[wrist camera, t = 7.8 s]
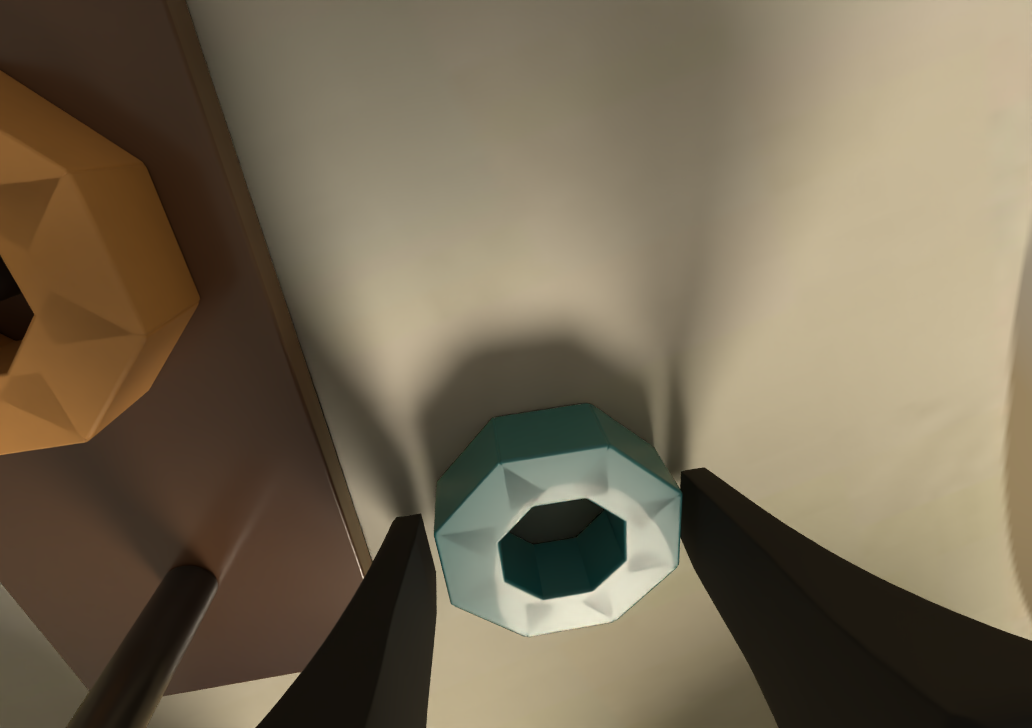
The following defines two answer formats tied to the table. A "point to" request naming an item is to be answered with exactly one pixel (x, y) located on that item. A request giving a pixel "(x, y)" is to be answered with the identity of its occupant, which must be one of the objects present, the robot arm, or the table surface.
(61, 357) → the ochre ring
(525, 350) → the table surface
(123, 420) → the peg rack
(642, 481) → the teal ring
